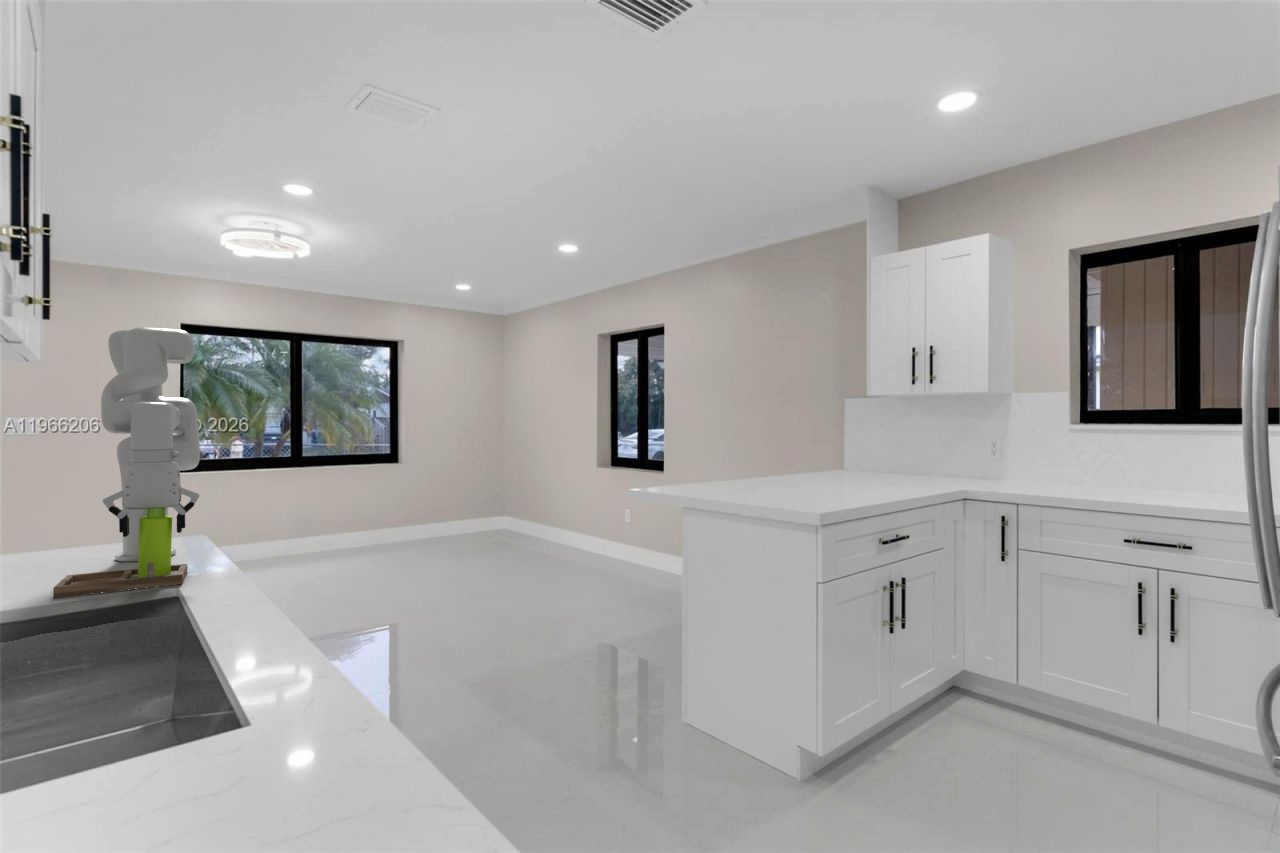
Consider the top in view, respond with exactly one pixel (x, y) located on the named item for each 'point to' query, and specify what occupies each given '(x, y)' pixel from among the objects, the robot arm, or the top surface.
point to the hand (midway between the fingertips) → (153, 533)
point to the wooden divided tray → (117, 581)
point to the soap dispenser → (155, 542)
